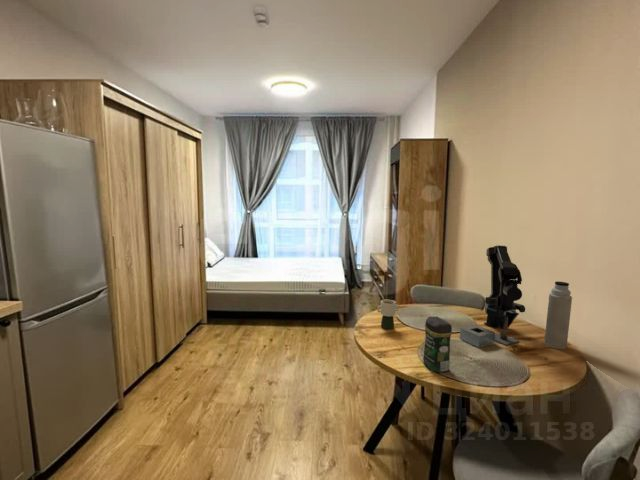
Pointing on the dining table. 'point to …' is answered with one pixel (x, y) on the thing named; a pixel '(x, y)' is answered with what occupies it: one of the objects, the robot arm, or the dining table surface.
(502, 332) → the brown cylinder rod
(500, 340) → the pad
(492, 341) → the plate
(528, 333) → the dining table surface
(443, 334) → the coffee jar
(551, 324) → the thermos bottle
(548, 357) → the dining table surface
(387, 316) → the character mug
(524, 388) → the dining table surface
